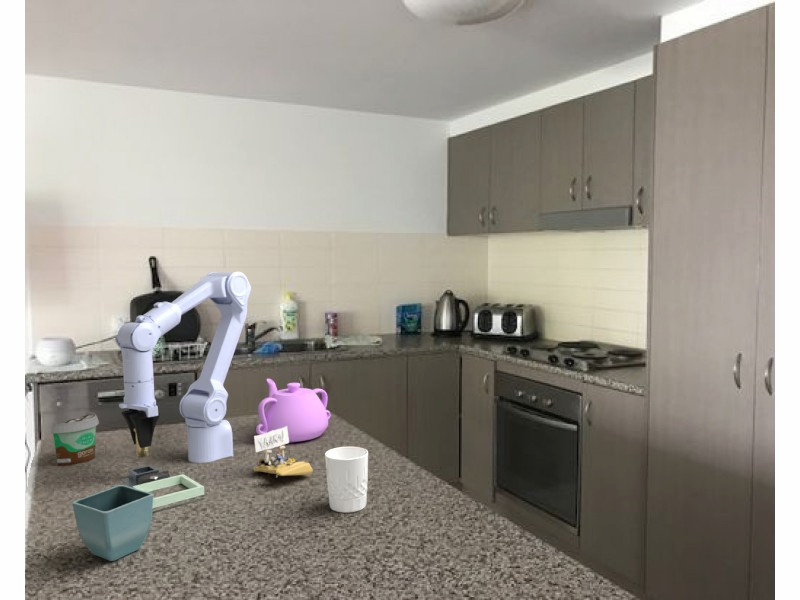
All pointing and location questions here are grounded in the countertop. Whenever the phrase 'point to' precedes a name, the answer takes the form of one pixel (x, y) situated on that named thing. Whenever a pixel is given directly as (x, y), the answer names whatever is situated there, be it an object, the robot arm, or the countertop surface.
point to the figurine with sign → (278, 455)
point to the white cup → (347, 478)
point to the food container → (75, 440)
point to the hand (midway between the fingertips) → (142, 445)
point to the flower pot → (114, 520)
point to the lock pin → (141, 449)
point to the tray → (193, 491)
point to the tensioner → (144, 475)
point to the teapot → (294, 412)
